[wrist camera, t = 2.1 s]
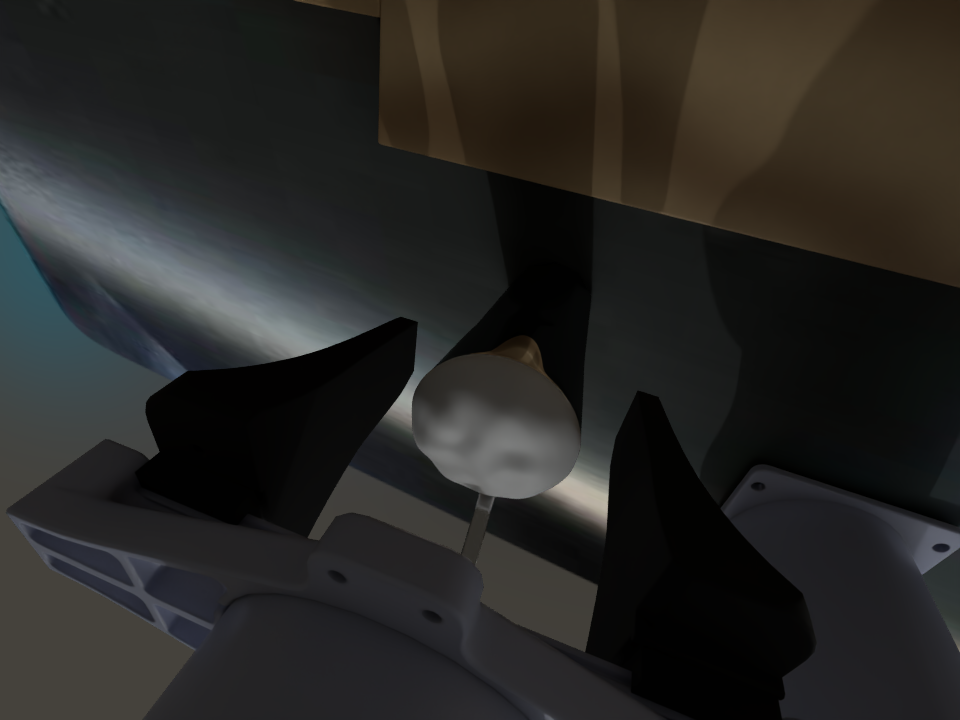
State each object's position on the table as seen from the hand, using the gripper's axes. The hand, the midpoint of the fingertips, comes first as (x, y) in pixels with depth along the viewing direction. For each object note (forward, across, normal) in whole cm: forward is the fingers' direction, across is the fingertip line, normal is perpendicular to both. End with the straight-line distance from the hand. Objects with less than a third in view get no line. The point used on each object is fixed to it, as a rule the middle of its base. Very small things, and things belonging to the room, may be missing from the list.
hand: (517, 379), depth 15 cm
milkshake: (+5, 0, 0) cm, 5 cm away
